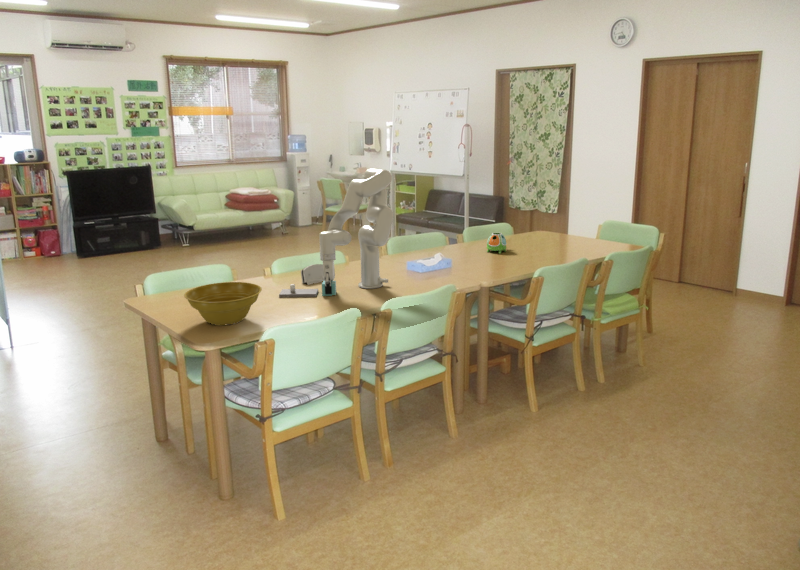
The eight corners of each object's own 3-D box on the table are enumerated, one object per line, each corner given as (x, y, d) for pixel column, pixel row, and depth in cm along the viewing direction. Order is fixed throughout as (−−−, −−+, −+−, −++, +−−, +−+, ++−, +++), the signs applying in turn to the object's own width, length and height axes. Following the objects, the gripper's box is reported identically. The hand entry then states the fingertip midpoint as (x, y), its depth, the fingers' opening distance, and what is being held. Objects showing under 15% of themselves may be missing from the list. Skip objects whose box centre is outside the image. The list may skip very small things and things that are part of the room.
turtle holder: (510, 249, 428) (511, 231, 425) (502, 254, 412) (503, 235, 409) (492, 247, 433) (493, 229, 430) (483, 252, 418) (484, 234, 415)
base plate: (318, 291, 329) (317, 281, 328) (316, 296, 319) (315, 287, 318) (282, 292, 329) (281, 282, 328) (279, 297, 319) (278, 287, 318)
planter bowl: (202, 338, 262) (199, 305, 258) (176, 318, 287) (173, 289, 284) (276, 323, 280) (274, 292, 276) (245, 306, 305) (243, 278, 302)
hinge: (307, 284, 343) (302, 266, 343) (302, 286, 346) (298, 268, 346) (332, 279, 354) (328, 261, 354) (327, 280, 357) (323, 263, 357)
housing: (336, 292, 327) (335, 280, 326) (335, 295, 321) (334, 283, 320) (323, 292, 327) (323, 280, 326) (322, 295, 321) (321, 284, 320)
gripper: (334, 260, 311) (335, 296, 316) (336, 253, 328) (338, 287, 333) (318, 260, 311) (319, 296, 316) (322, 253, 328) (323, 287, 332)
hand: (329, 291), depth 324 cm, fingers closed on housing, 6 cm apart
